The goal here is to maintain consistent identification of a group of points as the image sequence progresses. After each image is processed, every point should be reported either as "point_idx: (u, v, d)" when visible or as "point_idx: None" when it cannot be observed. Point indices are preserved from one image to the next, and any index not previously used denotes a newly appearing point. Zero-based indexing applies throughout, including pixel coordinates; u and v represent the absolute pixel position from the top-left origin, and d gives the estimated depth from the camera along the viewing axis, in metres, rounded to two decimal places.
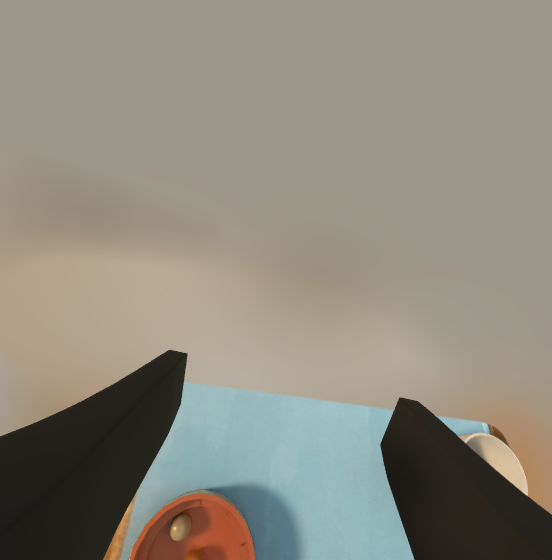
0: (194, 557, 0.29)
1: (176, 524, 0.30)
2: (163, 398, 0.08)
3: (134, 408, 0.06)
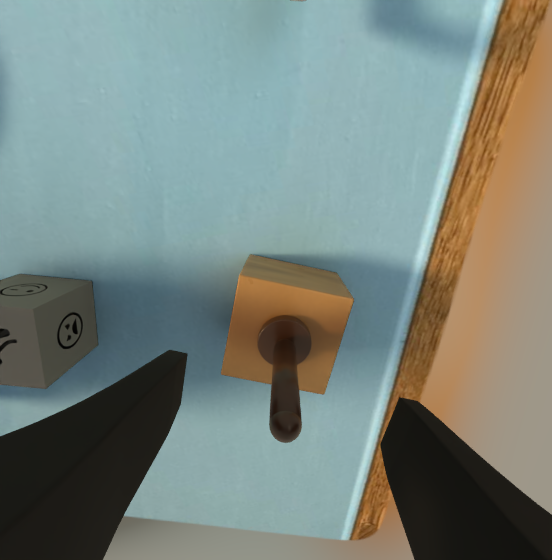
0: None
1: None
2: (163, 398, 0.08)
3: (134, 408, 0.06)
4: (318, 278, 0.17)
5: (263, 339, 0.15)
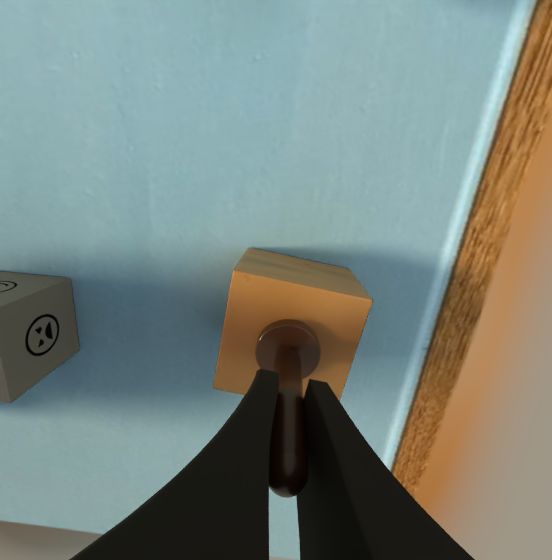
0: None
1: None
2: None
3: (270, 436, 0.06)
4: (328, 274, 0.15)
5: (261, 348, 0.12)
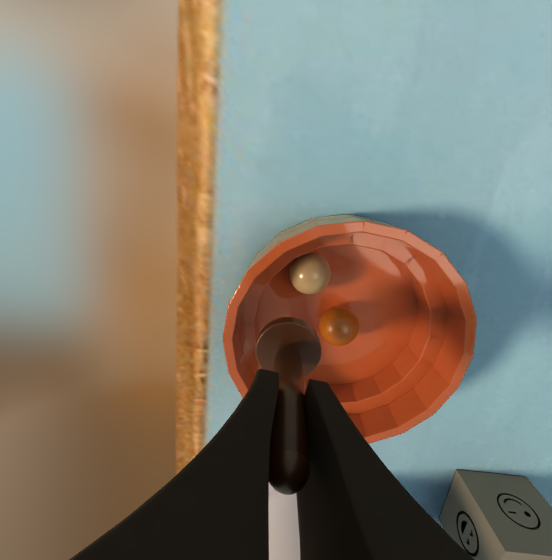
0: (343, 320, 0.15)
1: (305, 271, 0.15)
2: None
3: (270, 436, 0.06)
4: None
5: (262, 345, 0.12)
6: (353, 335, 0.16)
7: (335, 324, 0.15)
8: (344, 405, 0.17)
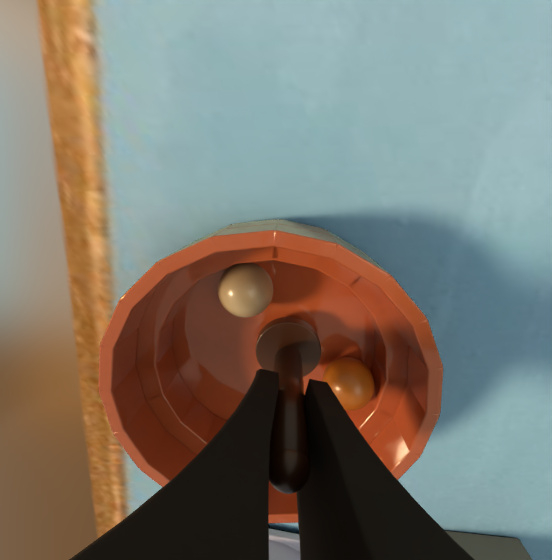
0: None
1: (250, 279, 0.11)
2: None
3: (269, 436, 0.06)
4: None
5: (262, 345, 0.12)
6: None
7: None
8: None
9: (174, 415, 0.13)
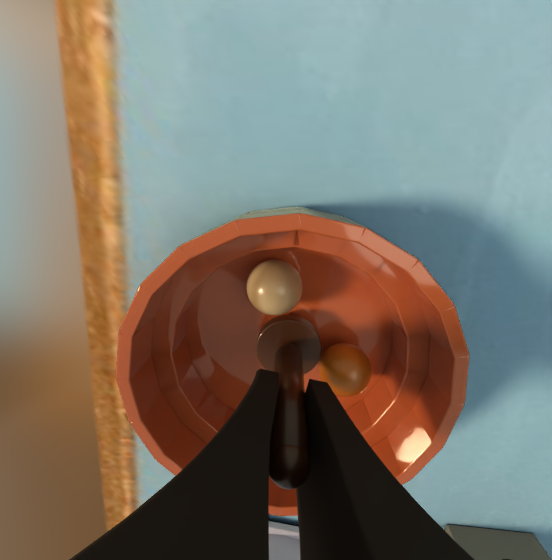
0: None
1: (292, 285, 0.11)
2: None
3: (269, 435, 0.06)
4: None
5: (264, 339, 0.12)
6: None
7: None
8: None
9: (189, 406, 0.13)
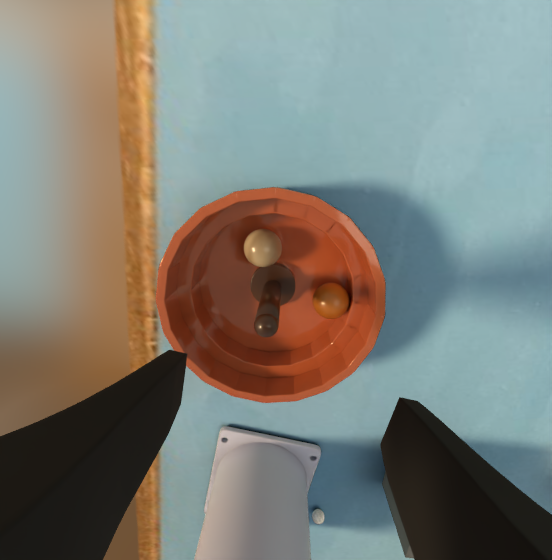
0: None
1: (274, 248, 0.16)
2: (163, 398, 0.08)
3: (134, 408, 0.06)
4: None
5: (255, 278, 0.18)
6: None
7: None
8: (279, 368, 0.18)
9: (202, 329, 0.18)
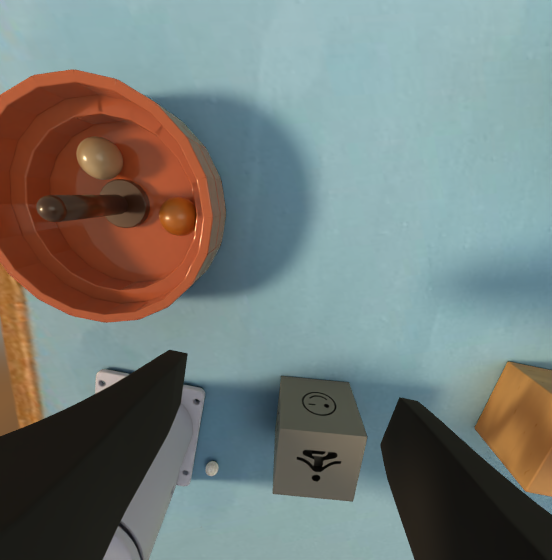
0: None
1: (104, 154, 0.15)
2: (163, 398, 0.08)
3: (134, 408, 0.06)
4: None
5: None
6: None
7: None
8: (132, 292, 0.18)
9: (45, 249, 0.17)
